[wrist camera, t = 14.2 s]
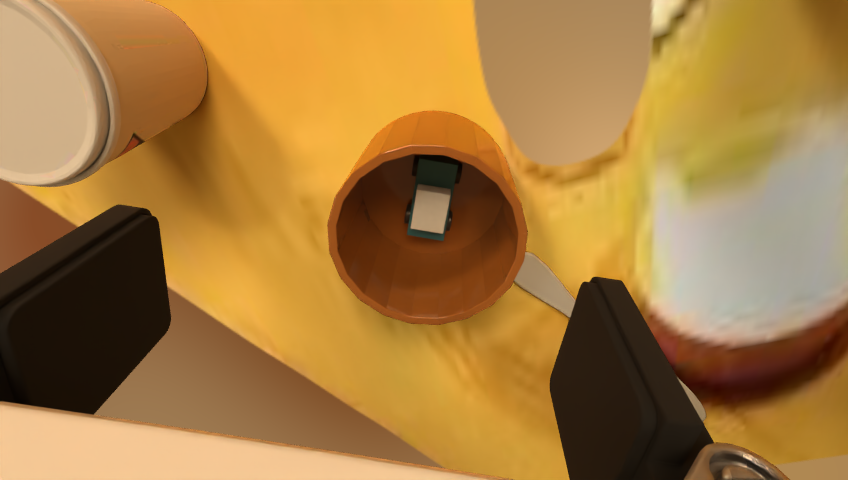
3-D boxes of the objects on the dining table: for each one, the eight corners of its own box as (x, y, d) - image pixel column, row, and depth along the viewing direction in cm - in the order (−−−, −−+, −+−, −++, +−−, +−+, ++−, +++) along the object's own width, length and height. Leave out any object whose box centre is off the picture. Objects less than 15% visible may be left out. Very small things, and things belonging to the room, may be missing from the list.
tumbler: (517, 113, 32) (538, 148, 24) (502, 258, 37) (515, 329, 29) (353, 108, 33) (320, 141, 25) (360, 252, 37) (334, 320, 29)
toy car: (448, 229, 36) (448, 250, 33) (404, 222, 35) (399, 241, 32) (463, 156, 33) (464, 171, 30) (415, 148, 33) (412, 162, 30)
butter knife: (528, 245, 36) (500, 270, 37) (719, 414, 42) (690, 432, 43) (527, 242, 36) (499, 267, 37) (717, 411, 42) (688, 428, 43)
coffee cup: (97, 126, 34) (-68, 182, 23) (65, -23, 30) (-152, -39, 19) (227, 139, 34) (122, 201, 23) (213, -9, 30) (78, -17, 19)
